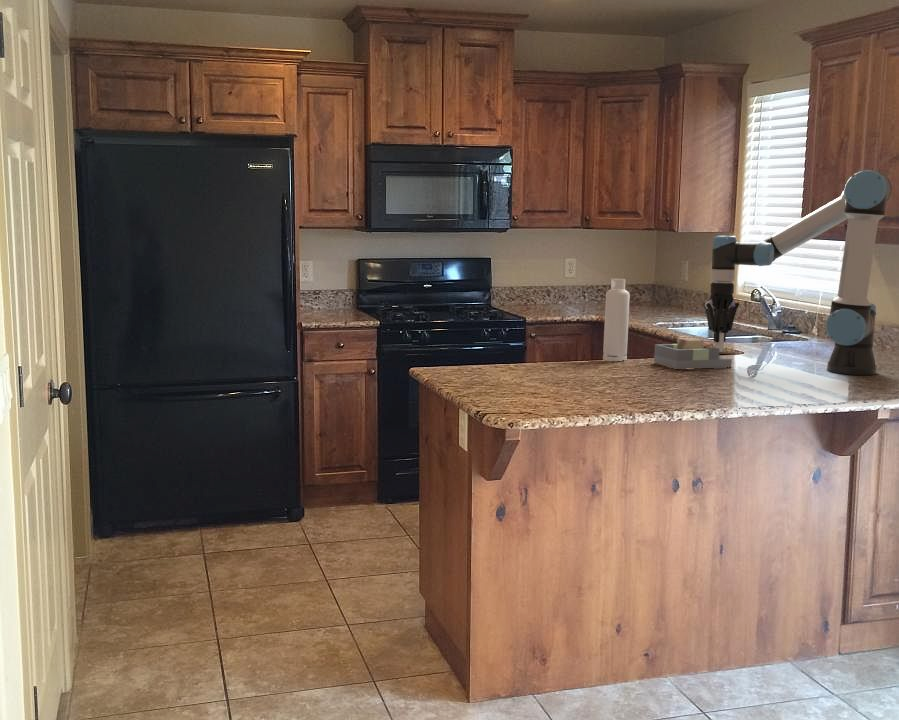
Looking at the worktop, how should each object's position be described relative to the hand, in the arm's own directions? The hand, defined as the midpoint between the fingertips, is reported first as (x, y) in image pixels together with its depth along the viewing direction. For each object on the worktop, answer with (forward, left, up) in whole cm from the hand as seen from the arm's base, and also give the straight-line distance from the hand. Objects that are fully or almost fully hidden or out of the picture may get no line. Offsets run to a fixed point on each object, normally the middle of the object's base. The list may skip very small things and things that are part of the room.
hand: (718, 351), depth 332 cm
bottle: (+17, +30, -5) cm, 35 cm away
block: (0, +11, -2) cm, 11 cm away
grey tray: (0, +10, -5) cm, 11 cm away
